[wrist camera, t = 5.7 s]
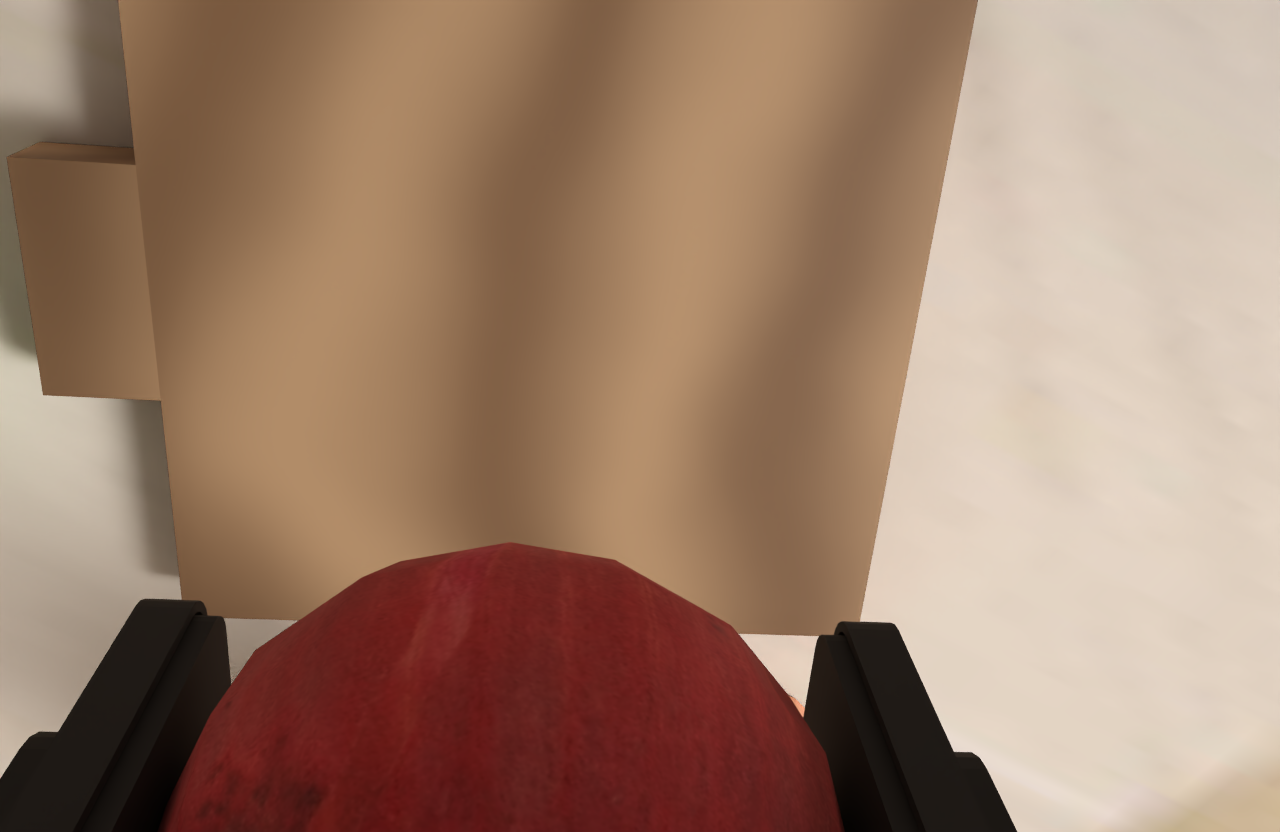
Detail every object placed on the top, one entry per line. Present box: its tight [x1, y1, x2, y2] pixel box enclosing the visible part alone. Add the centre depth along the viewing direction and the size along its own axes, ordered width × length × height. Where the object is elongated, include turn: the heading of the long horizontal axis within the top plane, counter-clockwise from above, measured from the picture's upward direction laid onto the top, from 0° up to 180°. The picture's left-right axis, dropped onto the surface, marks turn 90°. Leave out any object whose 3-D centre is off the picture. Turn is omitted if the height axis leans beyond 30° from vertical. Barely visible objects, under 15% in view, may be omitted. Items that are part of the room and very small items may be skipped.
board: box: [7, 0, 978, 636], centre depth 24 cm, size 18×16×2 cm
